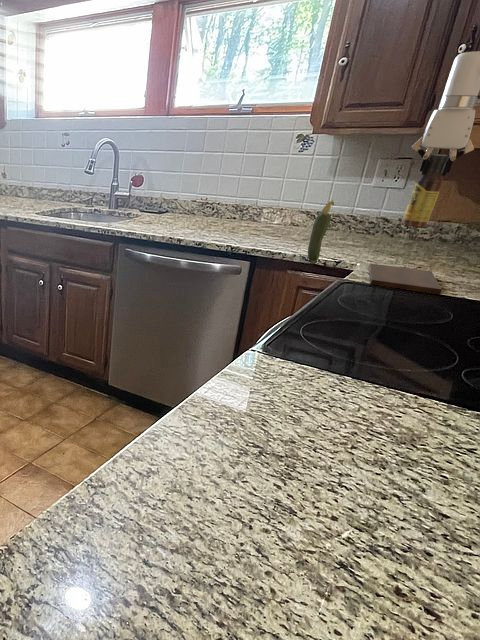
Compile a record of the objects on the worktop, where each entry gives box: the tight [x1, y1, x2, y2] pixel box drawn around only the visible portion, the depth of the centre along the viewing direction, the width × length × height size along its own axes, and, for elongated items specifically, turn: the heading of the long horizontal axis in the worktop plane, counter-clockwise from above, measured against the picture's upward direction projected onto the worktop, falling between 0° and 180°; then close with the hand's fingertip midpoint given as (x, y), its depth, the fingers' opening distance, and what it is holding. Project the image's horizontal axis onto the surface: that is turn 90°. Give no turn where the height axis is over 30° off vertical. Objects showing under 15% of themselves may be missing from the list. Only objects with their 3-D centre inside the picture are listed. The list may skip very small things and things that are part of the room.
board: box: [367, 263, 443, 295], centre depth 155 cm, size 16×24×2 cm, turn 148°
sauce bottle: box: [402, 153, 449, 228], centre depth 153 cm, size 7×6×20 cm
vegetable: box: [307, 200, 335, 265], centre depth 168 cm, size 4×4×20 cm
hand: (433, 174), depth 150 cm, fingers closed on sauce bottle, 4 cm apart
